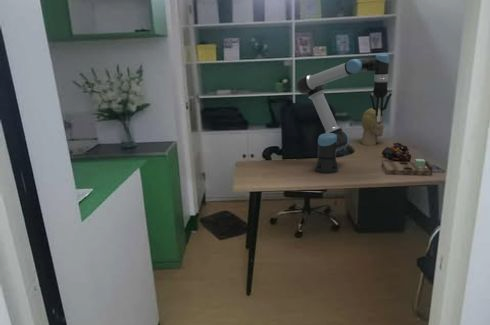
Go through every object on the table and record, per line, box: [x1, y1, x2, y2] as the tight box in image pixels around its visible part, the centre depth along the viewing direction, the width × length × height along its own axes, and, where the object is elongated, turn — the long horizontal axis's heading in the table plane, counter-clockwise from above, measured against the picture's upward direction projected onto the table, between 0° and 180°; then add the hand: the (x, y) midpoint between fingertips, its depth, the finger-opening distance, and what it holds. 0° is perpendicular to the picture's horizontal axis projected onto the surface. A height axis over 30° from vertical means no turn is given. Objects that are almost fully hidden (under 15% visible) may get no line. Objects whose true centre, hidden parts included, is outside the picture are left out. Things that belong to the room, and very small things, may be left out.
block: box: [414, 158, 427, 167], centre depth 226 cm, size 5×5×4 cm
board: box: [381, 158, 433, 176], centre depth 228 cm, size 26×19×6 cm
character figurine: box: [381, 142, 413, 162], centre depth 250 cm, size 17×11×28 cm
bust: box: [361, 107, 385, 146], centre depth 297 cm, size 18×18×30 cm
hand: (378, 121), depth 219 cm, fingers closed
